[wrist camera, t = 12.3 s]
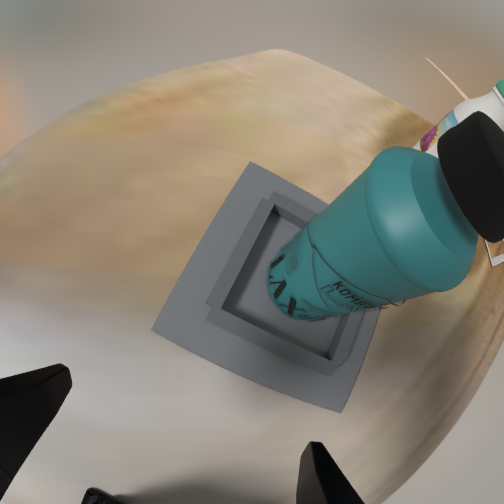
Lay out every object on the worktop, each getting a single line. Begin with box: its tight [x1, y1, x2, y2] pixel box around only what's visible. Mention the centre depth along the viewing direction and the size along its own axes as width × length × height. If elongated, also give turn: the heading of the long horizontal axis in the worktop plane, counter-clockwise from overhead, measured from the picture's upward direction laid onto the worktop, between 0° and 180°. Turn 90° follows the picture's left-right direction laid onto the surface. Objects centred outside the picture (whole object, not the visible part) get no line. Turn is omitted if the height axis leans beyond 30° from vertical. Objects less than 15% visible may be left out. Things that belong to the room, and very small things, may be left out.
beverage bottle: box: [266, 111, 504, 322], centre depth 14 cm, size 6×7×20 cm
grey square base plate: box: [151, 162, 381, 413], centre depth 23 cm, size 18×18×2 cm
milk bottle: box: [413, 80, 504, 158], centre depth 25 cm, size 8×8×20 cm
